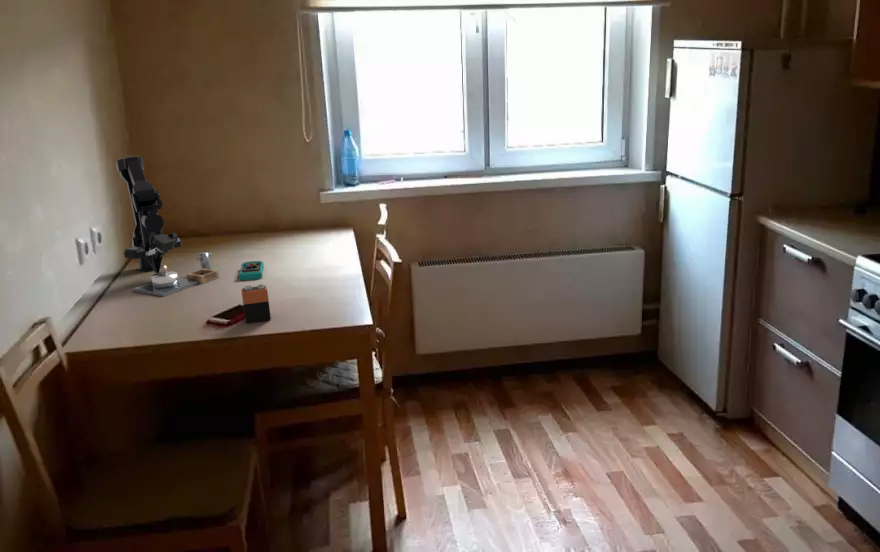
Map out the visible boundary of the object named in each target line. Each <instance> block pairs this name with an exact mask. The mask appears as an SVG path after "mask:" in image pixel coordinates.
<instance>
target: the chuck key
mask: <svg viewBox="0 0 880 552" xmlns="http://www.w3.org/2000/svg"><path fill="white" fill-rule="evenodd" d="M211 256H212V252H208V251H203V252H199V253H198V255H197V256H196V260H198V261H199V263H200V269H210V270H212V269H211V263H210V257H211Z"/></svg>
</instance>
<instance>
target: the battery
mask: <svg viewBox="0 0 880 552" xmlns="http://www.w3.org/2000/svg"><path fill="white" fill-rule="evenodd" d="M241 296H242V297H241V298H242V304H243V305H242V306H243V311H244V319H245V323H246V324H252V323H251V322H254V323H260V322H259V321H262V322H268V321H267V320H269V321H271V320H272V318H271V310H270V302H269V301H270V300H269V293H268V288H267V286H266V285H264V284H258V285H257V286H252V285H251V284H250V285H249V284H248V285H244V287H242V288H241Z"/></svg>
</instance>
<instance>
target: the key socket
mask: <svg viewBox="0 0 880 552" xmlns="http://www.w3.org/2000/svg"><path fill="white" fill-rule="evenodd" d="M219 278H220V277H219V270H215V269H211V270H210V269H201V268H200V269H198V270H194V271H192V272H189V273H186V279H190V280H196V281H198V284H199V285H200V284H201V285H203V284H207V283H209V282H211V281H214V280H217V279H219Z"/></svg>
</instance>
